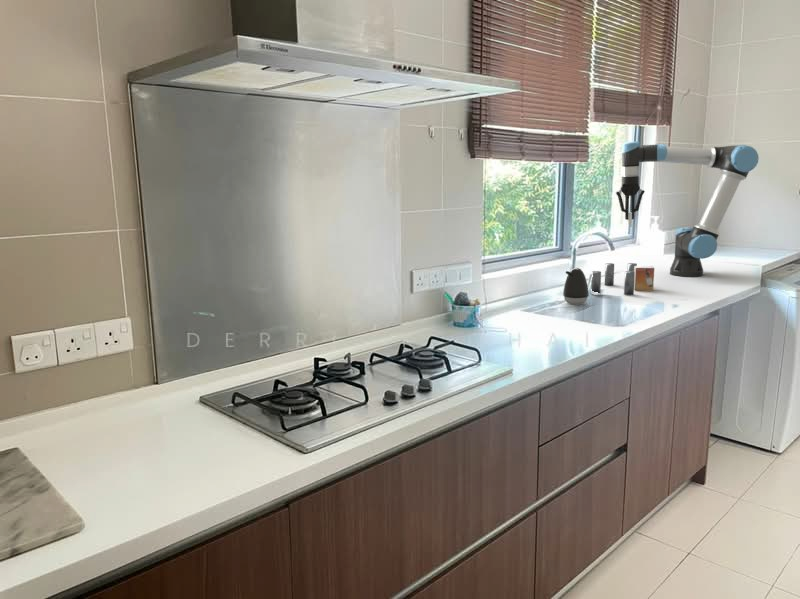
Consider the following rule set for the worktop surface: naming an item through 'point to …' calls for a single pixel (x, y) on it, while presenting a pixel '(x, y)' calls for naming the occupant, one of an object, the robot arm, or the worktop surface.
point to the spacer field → (610, 278)
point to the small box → (644, 278)
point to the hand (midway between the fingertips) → (629, 226)
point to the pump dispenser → (575, 287)
